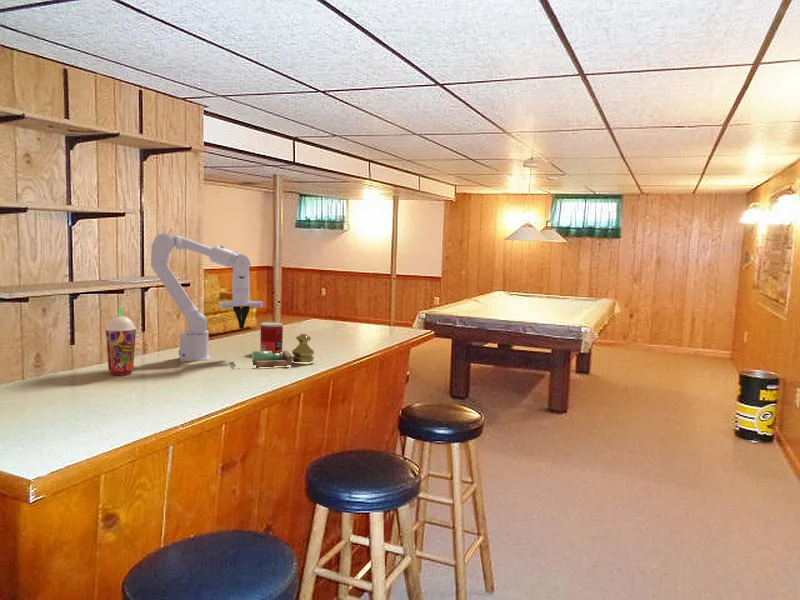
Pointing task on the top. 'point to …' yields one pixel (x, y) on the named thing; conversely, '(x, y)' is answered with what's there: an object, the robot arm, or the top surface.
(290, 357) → the cradle
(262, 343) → the canned food
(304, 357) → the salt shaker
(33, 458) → the top surface
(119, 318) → the smoothie
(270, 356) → the bottle
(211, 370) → the top surface
